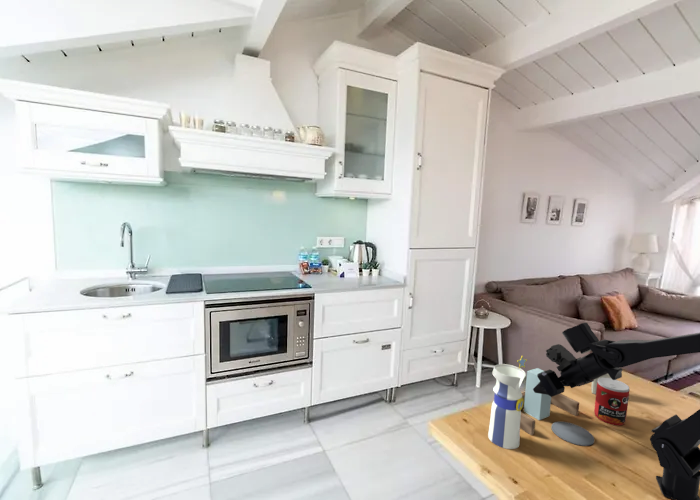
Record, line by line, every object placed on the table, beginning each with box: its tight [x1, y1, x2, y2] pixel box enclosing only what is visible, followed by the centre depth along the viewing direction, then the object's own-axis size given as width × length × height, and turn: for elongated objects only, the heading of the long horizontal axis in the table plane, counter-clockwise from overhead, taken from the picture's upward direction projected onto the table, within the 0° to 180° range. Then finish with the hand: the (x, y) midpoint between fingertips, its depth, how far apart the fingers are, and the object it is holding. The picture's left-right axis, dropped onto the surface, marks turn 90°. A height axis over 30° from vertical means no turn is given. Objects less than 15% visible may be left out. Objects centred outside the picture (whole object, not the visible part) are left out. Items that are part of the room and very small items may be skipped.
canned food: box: [593, 378, 630, 427], centre depth 102 cm, size 8×8×11 cm
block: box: [523, 367, 552, 421], centre depth 103 cm, size 5×5×13 cm
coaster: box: [550, 420, 595, 447], centre depth 95 cm, size 10×10×1 cm
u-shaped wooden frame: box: [520, 391, 580, 436], centre depth 104 cm, size 11×22×4 cm, turn 118°
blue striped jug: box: [487, 355, 528, 450], centre depth 90 cm, size 8×9×25 cm
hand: (543, 387), depth 102 cm, fingers open, 9 cm apart
